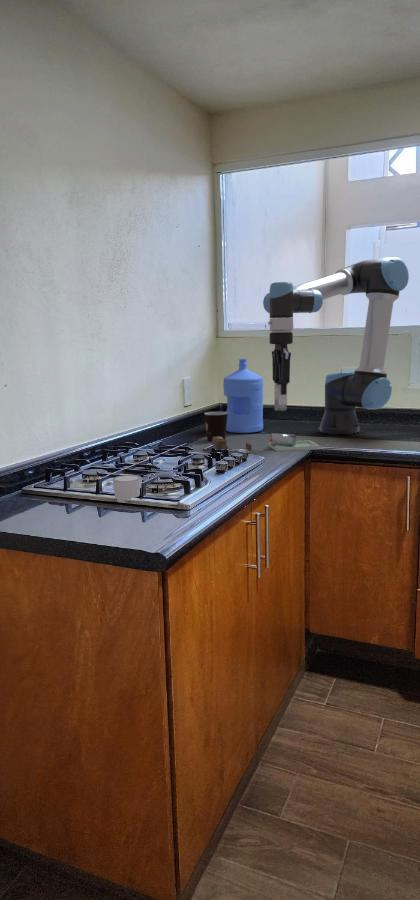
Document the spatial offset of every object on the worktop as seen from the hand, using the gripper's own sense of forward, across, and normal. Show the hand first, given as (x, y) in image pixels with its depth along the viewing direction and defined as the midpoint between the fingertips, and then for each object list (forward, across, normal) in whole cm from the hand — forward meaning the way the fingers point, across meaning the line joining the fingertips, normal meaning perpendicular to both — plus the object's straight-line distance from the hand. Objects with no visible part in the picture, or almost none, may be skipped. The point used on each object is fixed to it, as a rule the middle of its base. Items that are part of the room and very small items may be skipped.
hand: (280, 403), depth 199 cm
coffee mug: (+16, -22, -17) cm, 32 cm away
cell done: (+13, 0, +5) cm, 14 cm away
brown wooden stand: (+16, 0, -15) cm, 22 cm away
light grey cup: (+16, +54, -53) cm, 77 cm away
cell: (+2, 0, 0) cm, 2 cm away
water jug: (+16, -40, -3) cm, 43 cm away
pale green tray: (+15, 0, +5) cm, 16 cm away
